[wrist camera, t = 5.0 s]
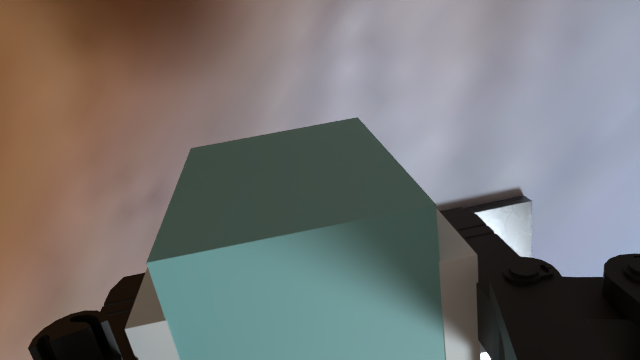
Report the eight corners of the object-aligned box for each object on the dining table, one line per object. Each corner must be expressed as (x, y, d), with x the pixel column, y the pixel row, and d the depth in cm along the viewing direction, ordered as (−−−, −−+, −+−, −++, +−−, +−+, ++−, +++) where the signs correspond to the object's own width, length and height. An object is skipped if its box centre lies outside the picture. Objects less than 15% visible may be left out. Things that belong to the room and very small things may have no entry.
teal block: (190, 148, 15) (146, 262, 8) (357, 117, 15) (435, 204, 9) (228, 290, 17) (215, 471, 10) (375, 259, 17) (450, 416, 11)
